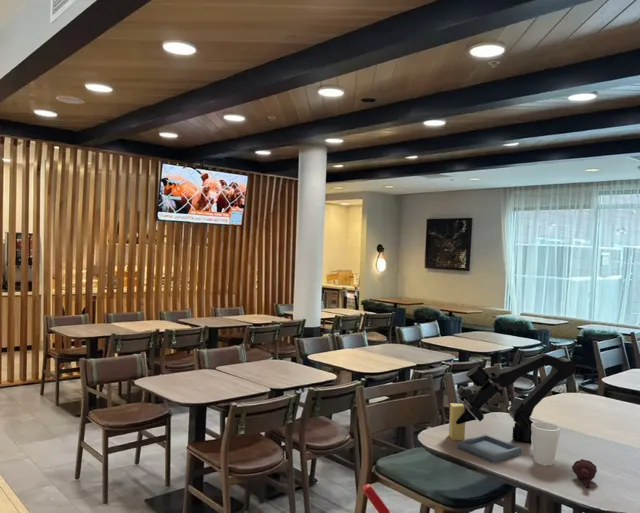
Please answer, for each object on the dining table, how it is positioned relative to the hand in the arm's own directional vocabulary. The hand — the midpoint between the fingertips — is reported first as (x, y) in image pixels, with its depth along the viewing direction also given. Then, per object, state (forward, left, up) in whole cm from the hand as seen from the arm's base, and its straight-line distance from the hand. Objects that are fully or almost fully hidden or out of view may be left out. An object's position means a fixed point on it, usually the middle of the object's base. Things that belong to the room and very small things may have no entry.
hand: (454, 421), depth 212 cm
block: (-1, 0, -7) cm, 7 cm away
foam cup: (-32, +13, -7) cm, 35 cm away
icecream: (-43, +24, -7) cm, 50 cm away
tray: (-13, +10, -7) cm, 18 cm away
